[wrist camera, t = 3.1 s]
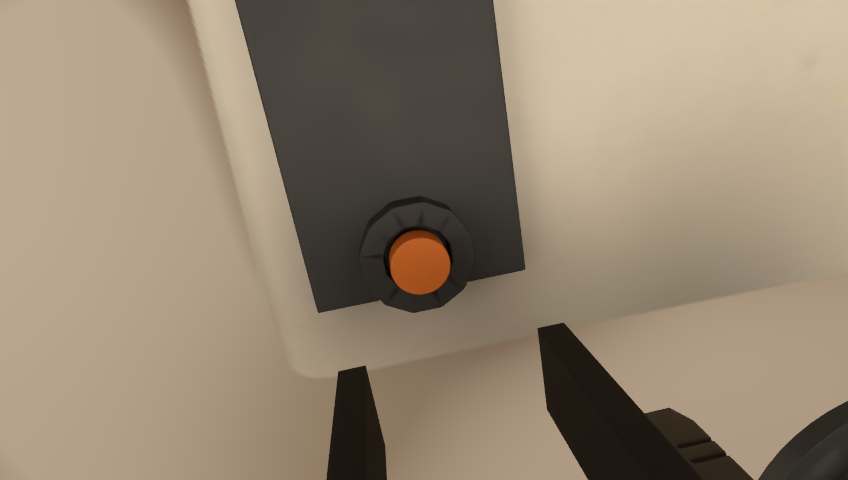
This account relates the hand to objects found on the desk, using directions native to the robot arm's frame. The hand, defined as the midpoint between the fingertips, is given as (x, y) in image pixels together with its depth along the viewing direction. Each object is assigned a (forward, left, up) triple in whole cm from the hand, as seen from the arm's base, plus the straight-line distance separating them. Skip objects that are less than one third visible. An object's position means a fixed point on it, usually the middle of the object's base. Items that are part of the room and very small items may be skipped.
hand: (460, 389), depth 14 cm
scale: (+6, -2, -15) cm, 16 cm away
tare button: (0, 0, -12) cm, 12 cm away
